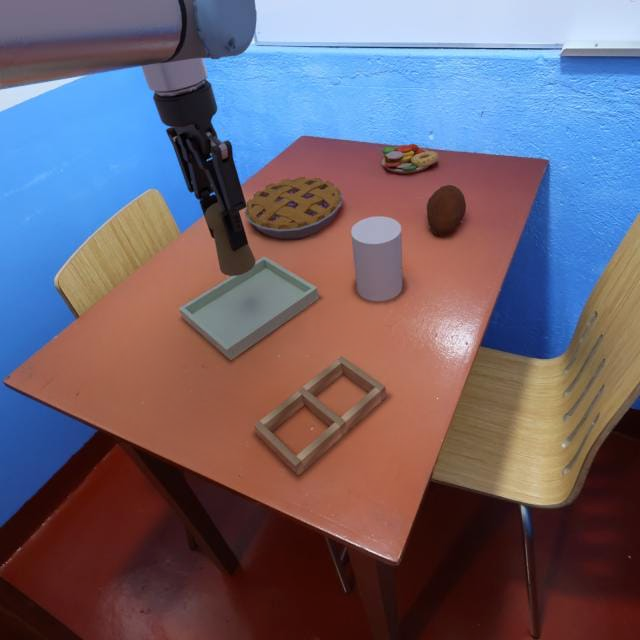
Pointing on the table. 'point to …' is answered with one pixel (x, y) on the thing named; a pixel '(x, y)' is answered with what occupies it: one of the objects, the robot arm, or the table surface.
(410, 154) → the toy food set
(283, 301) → the tray
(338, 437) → the two-slot wooden frame
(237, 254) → the brown pawn
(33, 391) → the table surface
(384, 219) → the cup
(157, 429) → the table surface
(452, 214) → the potato
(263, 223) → the pie
